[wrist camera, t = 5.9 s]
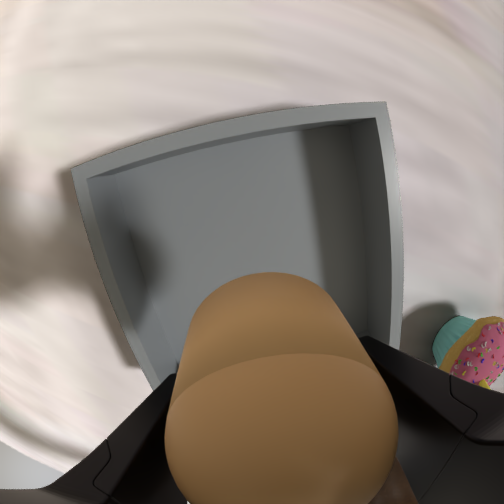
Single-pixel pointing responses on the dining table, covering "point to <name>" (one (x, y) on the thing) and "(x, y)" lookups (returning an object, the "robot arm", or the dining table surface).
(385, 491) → the plant pot
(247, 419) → the tan oval piece
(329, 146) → the bin
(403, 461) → the robot arm
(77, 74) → the dining table surface
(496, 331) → the cupcake
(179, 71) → the dining table surface
